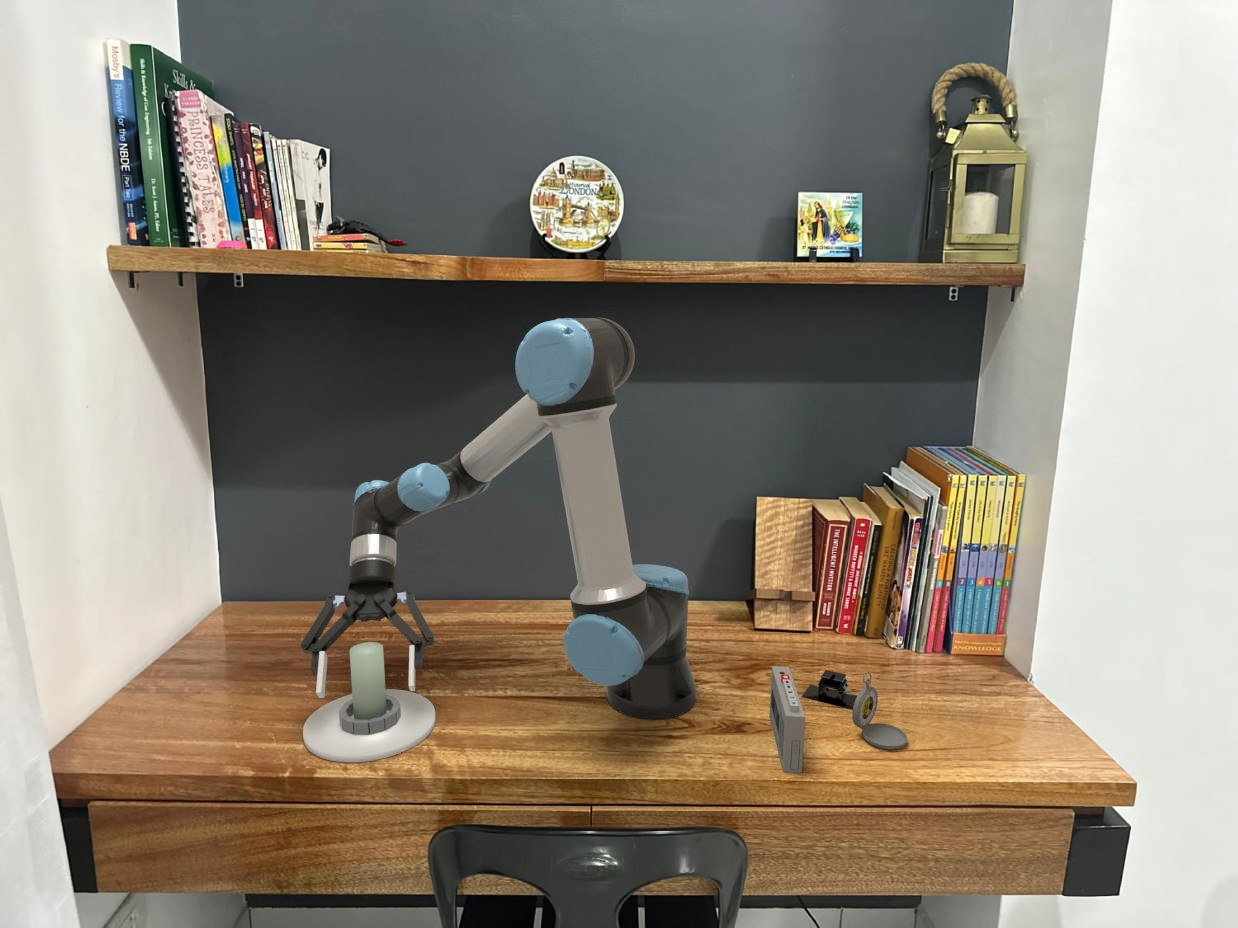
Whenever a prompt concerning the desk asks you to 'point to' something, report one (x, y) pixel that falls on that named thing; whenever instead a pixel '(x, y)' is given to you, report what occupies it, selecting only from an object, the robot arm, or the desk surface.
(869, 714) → the pocket watch
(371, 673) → the sage green cylinder
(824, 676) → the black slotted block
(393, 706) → the carrier plate
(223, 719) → the desk surface
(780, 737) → the cassette player
